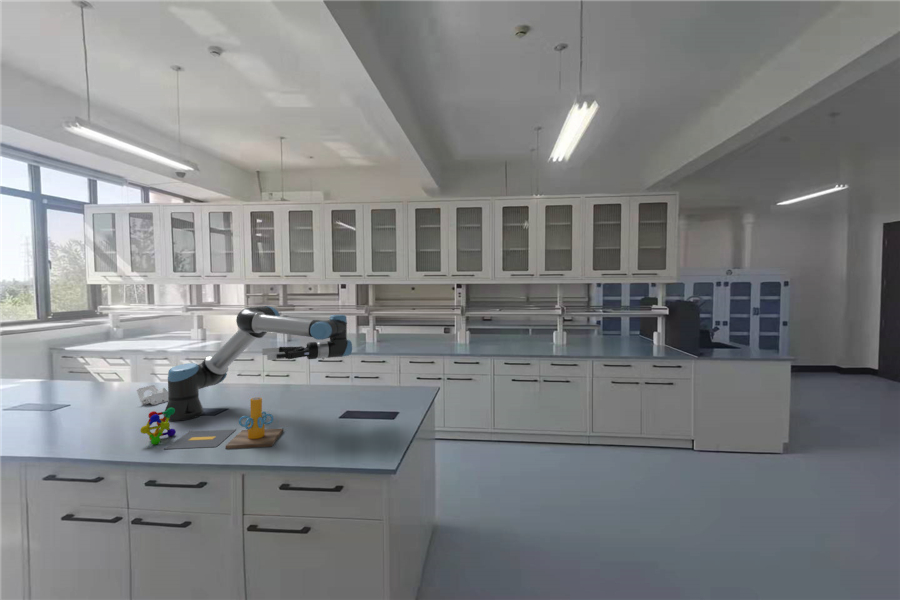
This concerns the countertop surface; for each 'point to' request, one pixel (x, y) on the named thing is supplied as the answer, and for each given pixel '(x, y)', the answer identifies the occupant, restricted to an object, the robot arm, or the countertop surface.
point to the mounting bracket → (152, 395)
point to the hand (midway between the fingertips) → (264, 354)
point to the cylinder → (256, 420)
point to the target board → (245, 442)
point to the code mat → (200, 439)
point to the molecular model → (161, 424)
